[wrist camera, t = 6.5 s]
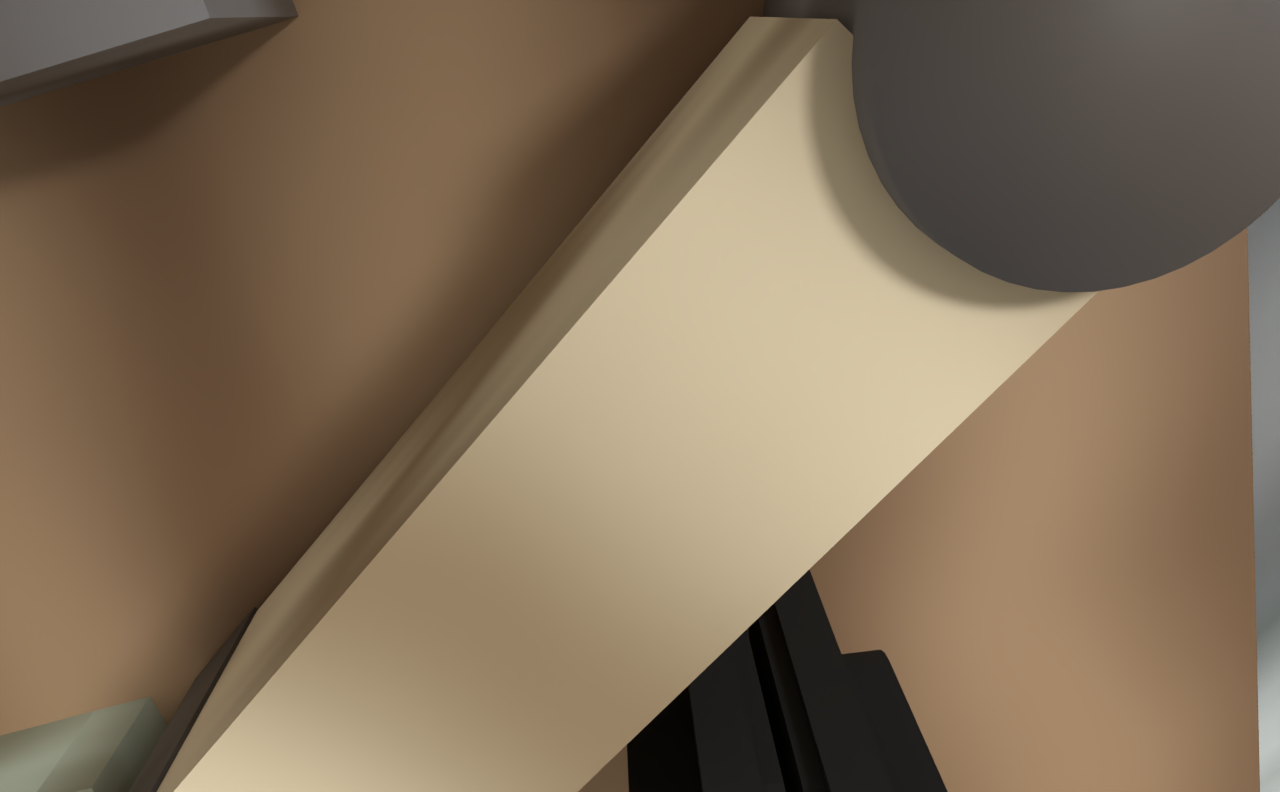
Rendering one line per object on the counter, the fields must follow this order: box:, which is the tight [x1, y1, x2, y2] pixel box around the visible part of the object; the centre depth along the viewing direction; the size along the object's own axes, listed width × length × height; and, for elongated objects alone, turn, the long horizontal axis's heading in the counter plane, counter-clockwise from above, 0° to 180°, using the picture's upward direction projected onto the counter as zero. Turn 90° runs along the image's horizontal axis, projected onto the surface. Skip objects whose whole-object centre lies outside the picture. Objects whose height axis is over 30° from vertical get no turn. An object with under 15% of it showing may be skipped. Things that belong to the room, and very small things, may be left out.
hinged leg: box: [129, 0, 1280, 792], centre depth 9 cm, size 13×3×4 cm, turn 139°
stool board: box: [0, 0, 1260, 792], centre depth 12 cm, size 24×20×6 cm
